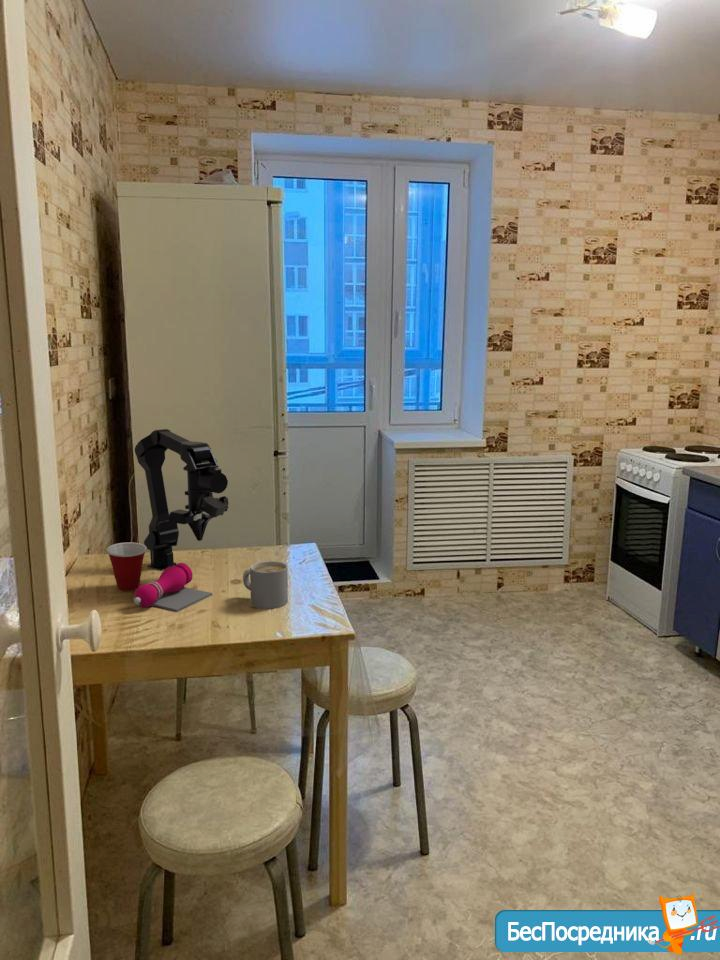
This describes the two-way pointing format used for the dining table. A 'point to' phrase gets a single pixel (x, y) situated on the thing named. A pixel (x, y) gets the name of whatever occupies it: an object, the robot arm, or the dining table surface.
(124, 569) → the plastic cup
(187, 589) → the mat
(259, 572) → the coffee mug
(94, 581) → the dining table surface
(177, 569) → the pepper mill
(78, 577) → the dining table surface
